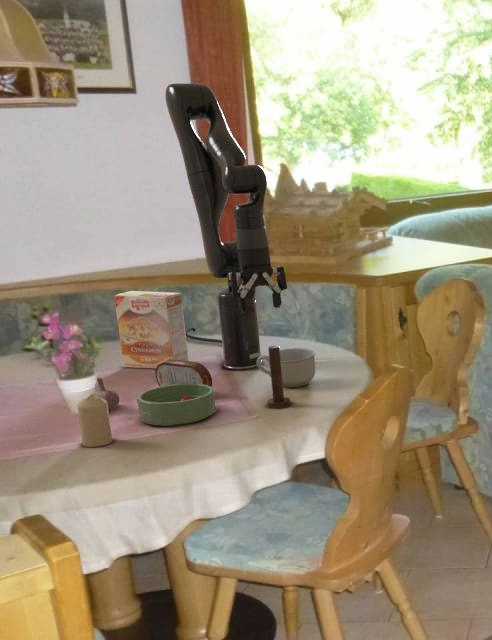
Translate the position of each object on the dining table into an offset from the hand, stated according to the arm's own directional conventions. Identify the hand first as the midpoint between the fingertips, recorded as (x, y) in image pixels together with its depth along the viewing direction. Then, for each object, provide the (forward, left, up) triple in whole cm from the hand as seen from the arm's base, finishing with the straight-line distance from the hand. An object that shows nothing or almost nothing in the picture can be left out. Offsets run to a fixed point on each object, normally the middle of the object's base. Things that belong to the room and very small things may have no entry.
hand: (260, 310), depth 258 cm
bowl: (+19, -30, -17) cm, 39 cm away
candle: (+25, -49, -17) cm, 58 cm away
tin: (+3, -22, -17) cm, 28 cm away
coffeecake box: (-30, -16, -17) cm, 39 cm away
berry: (+16, -27, -15) cm, 35 cm away
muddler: (+27, -10, -17) cm, 33 cm away
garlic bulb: (+2, -40, -17) cm, 44 cm away
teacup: (+12, 0, -17) cm, 21 cm away
